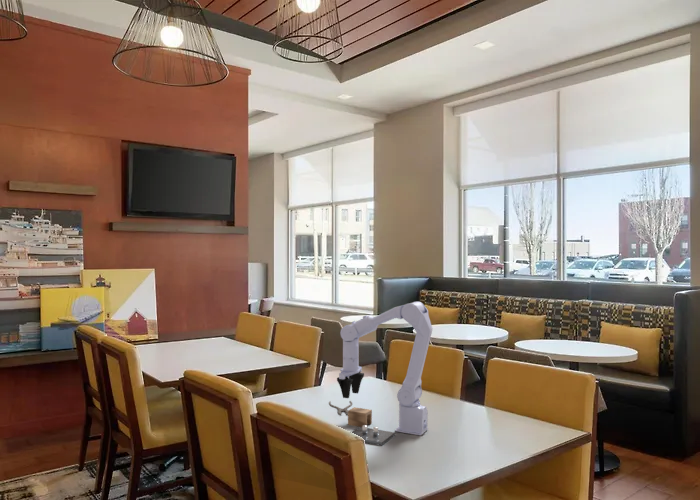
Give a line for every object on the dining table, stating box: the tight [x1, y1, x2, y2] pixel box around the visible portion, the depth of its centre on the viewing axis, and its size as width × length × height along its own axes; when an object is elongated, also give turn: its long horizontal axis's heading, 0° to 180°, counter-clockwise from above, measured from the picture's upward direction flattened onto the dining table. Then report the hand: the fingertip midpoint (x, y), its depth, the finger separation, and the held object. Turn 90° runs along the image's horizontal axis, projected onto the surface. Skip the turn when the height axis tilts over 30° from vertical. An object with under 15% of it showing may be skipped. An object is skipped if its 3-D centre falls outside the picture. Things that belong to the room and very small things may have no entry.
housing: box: [347, 406, 373, 428], centre depth 191 cm, size 7×5×5 cm
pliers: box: [328, 400, 353, 416], centre depth 212 cm, size 10×1×20 cm
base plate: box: [351, 424, 396, 446], centre depth 177 cm, size 13×11×4 cm
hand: (350, 395), depth 194 cm, fingers open, 7 cm apart
